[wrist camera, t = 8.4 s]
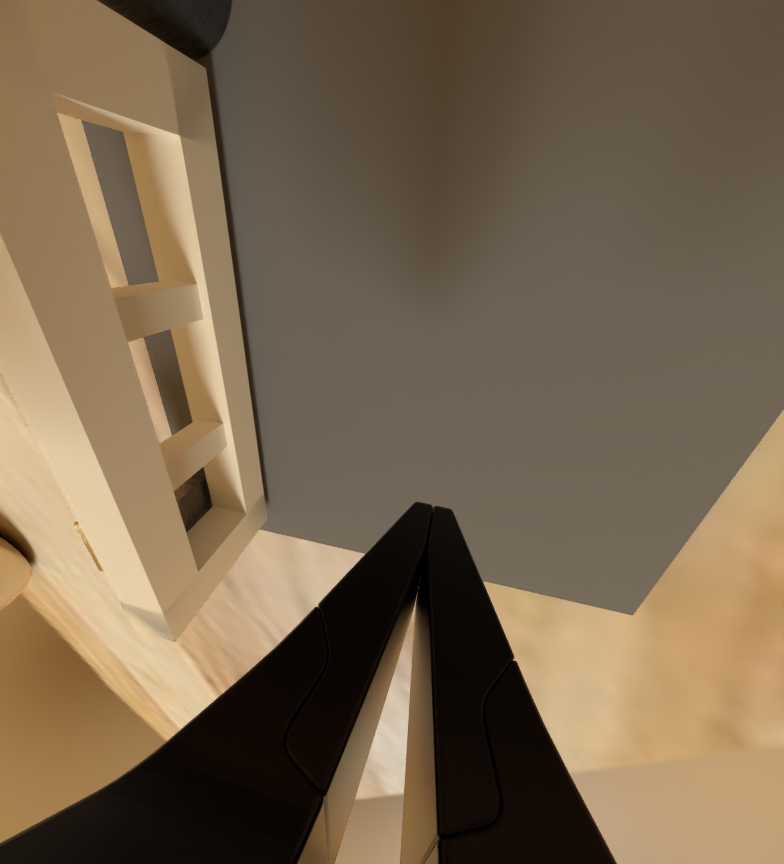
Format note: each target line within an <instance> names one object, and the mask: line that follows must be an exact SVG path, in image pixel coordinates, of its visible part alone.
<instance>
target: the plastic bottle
mask: <svg viewBox="0 0 784 864" xmlns="http://www.w3.org/2000/svg"><path fill="white" fill-rule="evenodd" d="M31 575H32V569H31V566H30V564H29V563H28V561H27V560H26V559H25V557H24V556H23V555H22V554H21V553H20V552H19V551H18V550H17V549H16V548H14V547H13V546H12V545H11V544H9V543H8V542H7V541H5V540H4V539H2V538H1V537H0V610H1V609H3V608H4V607H6V606H7V605H8V604H10V603H11V601H13V600H14V599H15V598H16V597H17V596H18V595H19V594H20V593H21V592H22V591H23V590H24V589H25V588H26V586H27V584H28V582H29V580H30V578H31Z"/></svg>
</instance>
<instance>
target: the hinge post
mask: <svg viewBox="0 0 784 864" xmlns="http://www.w3.org/2000/svg"><path fill="white" fill-rule="evenodd" d="M97 1H99V2H100V3H102V4H104V5H105V6H107V7H108V8H110V9H112V10H113V11H115V12H116V13H118V14H120V15H121V16H123V17H124V18H126V19H128V20H129V21H131V22H132V23H134V24H136V25H137V26H139V27H140V28H142V29H144V30H145V31H147V32H149V33H150V34H152V35H153V36H155V37H157V38H158V39H160V40H161V41H163V42H165V43H166V44H168V45H169V46H171V47H173V48H174V49H176V50H177V51H179V52H181V53H182V54H184V55H185V56H187V57H189V58H190V59H197V58H201V57H203V56H205V55H207V54H208V53H210V52H211V51H212V50H213V49H214V48H215V47H216V46H217V45H218V43H219V42H220V40H221V38H222V37H223V35H224V32H225V30H226V28H227V25H228V21H229V18H230V13H231V8H232V0H97Z"/></svg>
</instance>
